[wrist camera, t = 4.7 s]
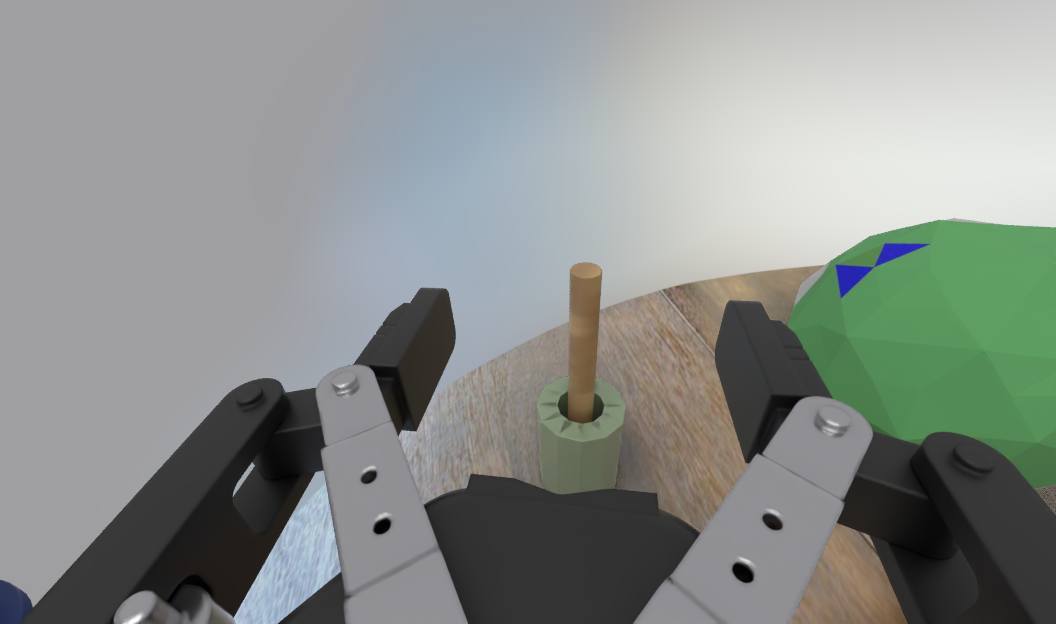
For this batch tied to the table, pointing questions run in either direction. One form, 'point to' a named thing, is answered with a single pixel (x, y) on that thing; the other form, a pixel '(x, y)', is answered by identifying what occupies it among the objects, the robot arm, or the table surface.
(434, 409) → the table surface
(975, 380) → the decorative sphere
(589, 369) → the stick
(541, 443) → the crock
